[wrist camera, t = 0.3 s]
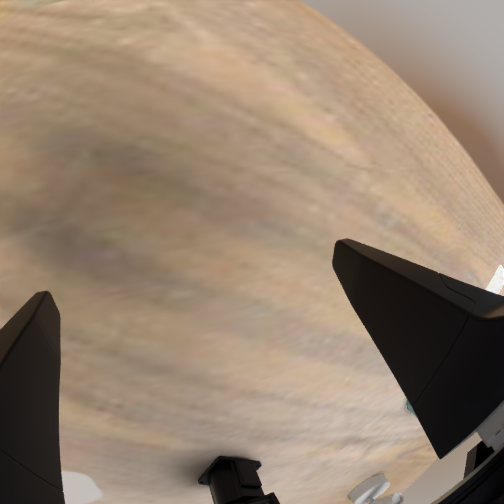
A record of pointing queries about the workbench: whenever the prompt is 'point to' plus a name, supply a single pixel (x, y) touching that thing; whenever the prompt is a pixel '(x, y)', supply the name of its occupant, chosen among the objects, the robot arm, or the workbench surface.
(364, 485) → the wall hook
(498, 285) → the butcher knife
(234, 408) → the workbench surface
